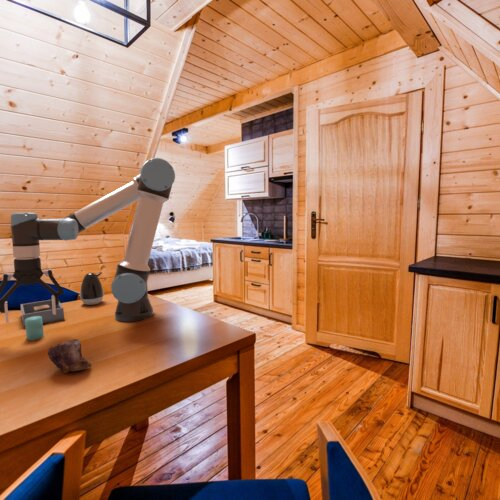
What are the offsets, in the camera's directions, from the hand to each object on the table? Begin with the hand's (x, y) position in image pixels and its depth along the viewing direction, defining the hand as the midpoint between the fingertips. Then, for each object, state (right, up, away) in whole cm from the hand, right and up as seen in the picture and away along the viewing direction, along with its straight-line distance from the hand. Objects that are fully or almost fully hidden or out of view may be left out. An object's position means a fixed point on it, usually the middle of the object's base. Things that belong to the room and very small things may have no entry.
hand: (31, 317), depth 110 cm
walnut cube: (-8, -5, +18) cm, 21 cm away
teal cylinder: (+1, -7, +1) cm, 7 cm away
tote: (-11, -5, +22) cm, 24 cm away
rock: (+26, -10, -21) cm, 35 cm away
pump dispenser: (+1, -2, +41) cm, 41 cm away
